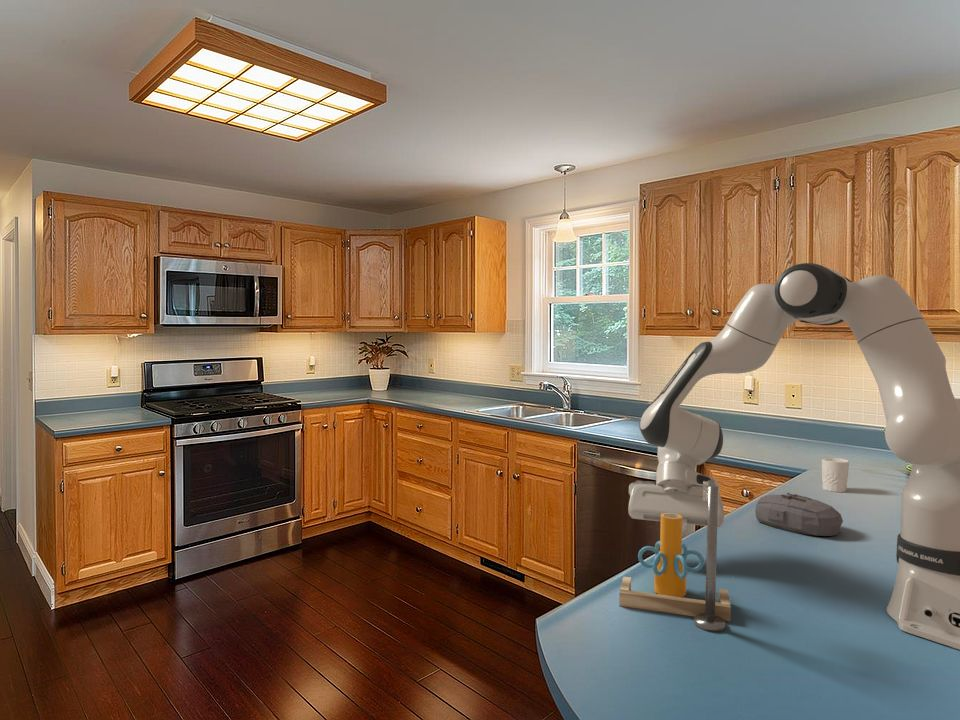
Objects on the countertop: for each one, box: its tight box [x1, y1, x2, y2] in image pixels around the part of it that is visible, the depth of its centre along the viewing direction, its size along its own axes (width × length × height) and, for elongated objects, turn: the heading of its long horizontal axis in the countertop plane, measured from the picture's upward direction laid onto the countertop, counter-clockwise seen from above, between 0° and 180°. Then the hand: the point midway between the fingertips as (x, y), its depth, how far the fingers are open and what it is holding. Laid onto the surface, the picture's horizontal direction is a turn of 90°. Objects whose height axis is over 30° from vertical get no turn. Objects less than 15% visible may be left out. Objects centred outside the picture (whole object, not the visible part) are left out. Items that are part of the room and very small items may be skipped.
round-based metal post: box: [693, 480, 726, 633], centre depth 108 cm, size 11×5×24 cm, turn 162°
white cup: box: [821, 457, 850, 493], centre depth 203 cm, size 8×8×10 cm
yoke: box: [618, 576, 732, 622], centre depth 114 cm, size 8×19×2 cm, turn 72°
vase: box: [637, 513, 705, 598], centre depth 119 cm, size 12×10×15 cm
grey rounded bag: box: [755, 492, 844, 537], centre depth 162 cm, size 15×8×20 cm
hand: (674, 538), depth 133 cm, fingers closed
